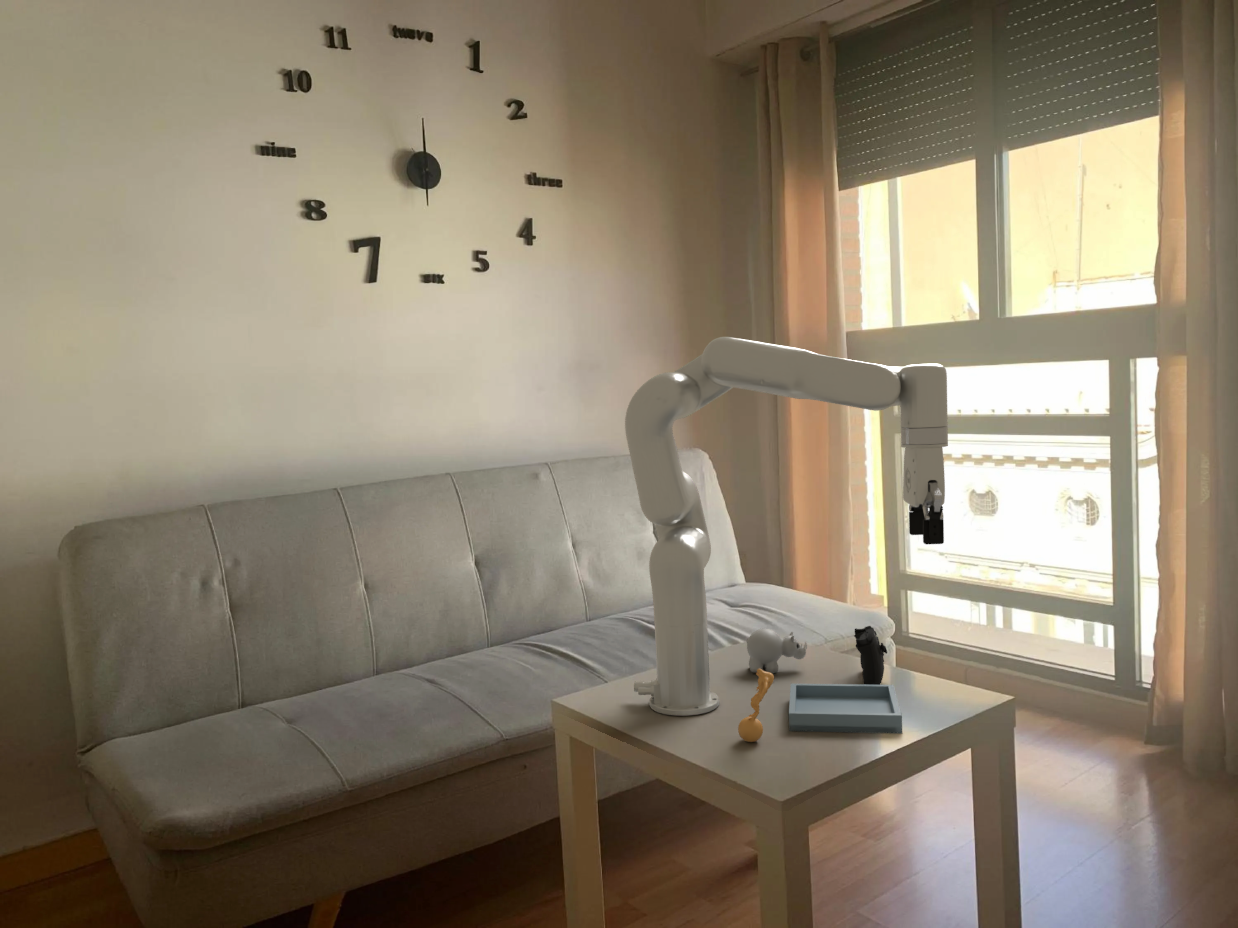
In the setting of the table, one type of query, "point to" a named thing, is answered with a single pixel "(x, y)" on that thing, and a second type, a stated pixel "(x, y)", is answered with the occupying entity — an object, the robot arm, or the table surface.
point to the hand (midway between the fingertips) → (926, 539)
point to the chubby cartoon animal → (771, 649)
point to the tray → (844, 708)
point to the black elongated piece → (870, 655)
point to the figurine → (751, 726)
